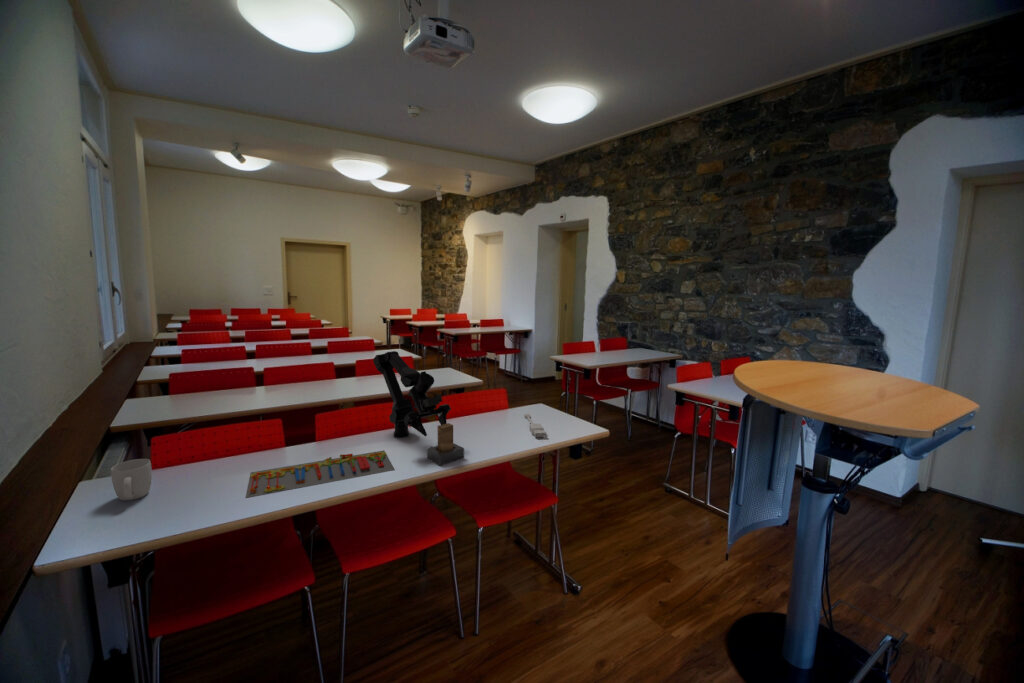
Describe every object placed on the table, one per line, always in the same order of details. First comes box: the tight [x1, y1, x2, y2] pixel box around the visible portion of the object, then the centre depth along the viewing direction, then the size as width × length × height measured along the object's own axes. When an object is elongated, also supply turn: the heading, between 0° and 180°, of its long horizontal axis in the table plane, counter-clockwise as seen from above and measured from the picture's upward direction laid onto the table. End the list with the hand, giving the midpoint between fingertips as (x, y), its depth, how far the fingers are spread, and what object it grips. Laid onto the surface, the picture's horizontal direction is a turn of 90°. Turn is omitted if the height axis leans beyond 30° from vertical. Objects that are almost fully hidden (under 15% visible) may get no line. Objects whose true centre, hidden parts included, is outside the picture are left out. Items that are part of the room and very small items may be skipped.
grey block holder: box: [426, 442, 465, 467], centre depth 159 cm, size 9×11×4 cm
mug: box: [110, 458, 153, 502], centre depth 127 cm, size 13×9×10 cm
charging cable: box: [523, 413, 546, 438], centre depth 197 cm, size 5×32×3 cm, turn 9°
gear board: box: [245, 450, 396, 499], centre depth 147 cm, size 45×2×19 cm
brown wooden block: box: [437, 422, 454, 452], centre depth 159 cm, size 3×5×13 cm, turn 133°
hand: (436, 433), depth 163 cm, fingers open, 9 cm apart
